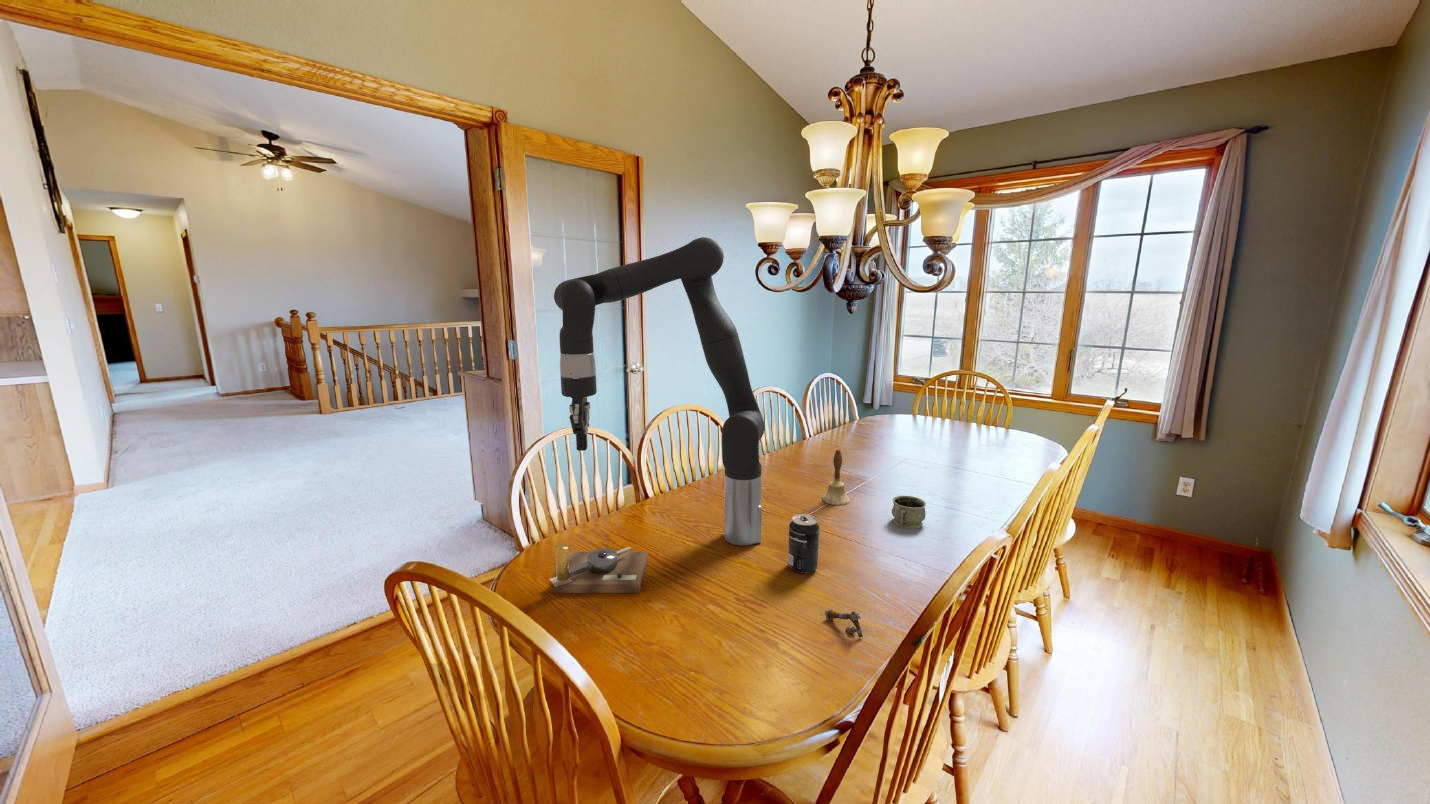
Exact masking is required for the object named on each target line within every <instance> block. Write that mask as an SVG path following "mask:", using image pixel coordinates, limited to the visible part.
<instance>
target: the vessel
mask: <svg viewBox="0 0 1430 804" xmlns="http://www.w3.org/2000/svg"><path fill="white" fill-rule="evenodd" d="M892 502H893V503H892V504H893V506H892V509H891V514H892V516H893V517H894V518H893V520H892V521H893V523H894V524H895V525H897V526H899V527H900V528H904V529H920V528H923V525H924V524H923V521H925V519H926V515H927V513H926V506H927V502H926V501H925V500H923V499H922V498H920V497H917V496H913V495H897V496H894V497H893V498H892Z"/></svg>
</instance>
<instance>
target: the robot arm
mask: <svg viewBox="0 0 1430 804" xmlns="http://www.w3.org/2000/svg"><path fill="white" fill-rule="evenodd" d="M724 259H725V257H724V251H723V248H722V247H721V245H720V244H719V243H718V241H716V240H714V239H712V238H710V237H705V236H703V237H698V238H695V239H693V240H691V241H690V242H688V243H687V244H685V245H682V246H681V247H678V248H676V249H673V250H671V251H669V252H665V253H663V254H661V255H660V254H659V255H657V256H654V257H649V258H646V259H643V260H638V261H634V262H630V263H626V264H623V265H620V266H616V267H613V268H609V269H605V270H604V271H601V272H598V273H595V274H589V275H585V276H580V277H575V278H571V279H566V280H564V281H562V282H560V283H559V284H558V285H557V286H556V287H555V289H554V292H553V300H554V303H555V305H556V306H557V307H558V309H560V310H561V311H562V326H561V328H560V330H559V353H560V355H559V356H560V358H559V370H560V372H559V373H560V374H559V375H560V389H561V390H560V391H561V395H562V396H563V397H565V398H571V404H569V408H568V409H569V413H570V415H569V417H568V419H569V422H570V425H571V430H572V433H573V435H575V439H576V440H575V441H576V442H575V443H576V450H577V451H579V452H580V451H582V452H583V451H584V452H585V451H587V450H588V431H589V427H590V409H591V402H590V401H588V398H589V397H593V396H594V395H596V394H597V392H598V391H597V372H596V371H597V369H596V359H595V353H594V352H595V350H594V348H595V347H594V335H593V330H594V322H595V314H596V306H598V305H602V304H607V303H609V304H610V303H616V302H619V301H624V300H625V299H630V298H633V297H635V296H638V295H641V294H644V293H646V292H648V291H651V290H653V289H655V288H658V287H660V286H663V285H666V284H668V283H671V282H674V281H677V280H680V281H681V283H682V286H683V288H684V291H685V293H686V296H687V298H688V300H689V304H690V307H691V310H692V314H693V319H694V322H695V325H696V328H697V332H698V335H699V339H700V343H701V348H702V351H703V354H704V357H705V361H706V363H707V366H708V369H709V370H710V373H711V374H712V375H713V377H714V379H715V381H716V382H717V383H718V385H719V387H720V389H721V390H722V393H723V396H724V398H725V403H726V406H727V411H728V416H729V417H728V418H727V419H726V420H725V421H724V423H723V425H722V429H721V457H722V458H721V460H722V461H721V462H722V465H723V467H724V494H723V495H724V500H723V502H724V505H723V506H724V511H723V527H724V528H723V532H724V534H723V538H724V540H725V541H726V542H727V543H729V544H731V545H736V546H740V547H741V546H751V545H754V544H759V543H760V544H761V543H762V517H763V516H762V515H763V513H762V512H763V510H762V509H763V506H762V471H763V470H762V462H760V453H759V452H760V445H759V444H760V440H761V439H762V437H763V435H764V434H765V429H766V428H765V427H766V426H765V421H764V417H763V414H762V412H761V410H760V407H759V405H758V402H757V400H756V397H755V393H754V392H753V388H752V385H751V380H750V376H749V371H748V367H747V364H746V359H745V357H744V353H743V348H742V343H741V341H740V336H739V333H738V330H737V328H736V325H735V324H734V322H733V320H732V319H731V317H730V315H728V313H727V312H726V310H725V309H724V308H723V305H722V304H721V302H720V301H719V298H718V296H717V293H716V289H715V286H714V281H713V277H712V276H714V275H715V274H717V273H718V271H720V269H721V268H722V266H723V263H724Z"/></svg>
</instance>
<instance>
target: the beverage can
mask: <svg viewBox="0 0 1430 804" xmlns="http://www.w3.org/2000/svg"><path fill="white" fill-rule="evenodd" d="M791 519H792V520H790V522H789V524H788V542H787V543H788V545H787V565H788V567H789V568H790V569H791V570H793V571H794V572H797V573H799V574H809V573H811V572H814V571H815V570H817V568H818V567H819V552H820V551H819V549H820V533H821V532H820V530H821V529H820V528H821V527H820V524H819V523H818V519H817V517H815V516H814V515H812V514H807V513H806V514H805V513H799V514H798V513H797V514H795V515H793V516H792V517H791Z"/></svg>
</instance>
